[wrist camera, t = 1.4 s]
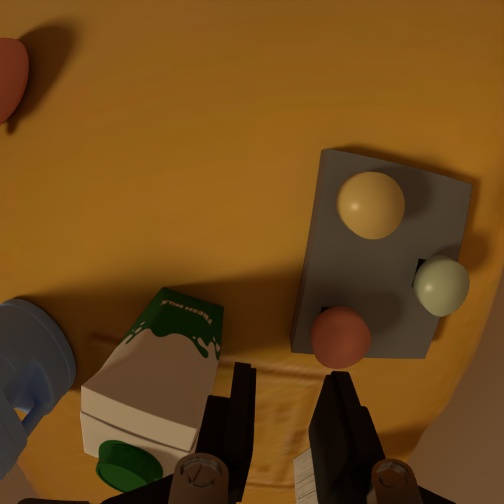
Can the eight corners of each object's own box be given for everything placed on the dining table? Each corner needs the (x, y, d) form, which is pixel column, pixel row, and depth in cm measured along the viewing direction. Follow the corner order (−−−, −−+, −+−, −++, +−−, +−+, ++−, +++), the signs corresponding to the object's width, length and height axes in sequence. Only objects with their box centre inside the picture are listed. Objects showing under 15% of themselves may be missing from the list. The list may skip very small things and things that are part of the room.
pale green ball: (409, 244, 29) (433, 259, 24) (449, 251, 29) (475, 265, 24) (397, 293, 30) (417, 314, 25) (437, 297, 30) (459, 317, 25)
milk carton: (143, 343, 35) (67, 470, 16) (156, 275, 33) (55, 393, 14) (213, 366, 36) (179, 513, 17) (235, 301, 33) (206, 451, 14)
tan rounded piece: (333, 165, 27) (348, 166, 22) (386, 176, 27) (409, 179, 22) (325, 222, 29) (337, 234, 24) (377, 230, 29) (397, 243, 24)
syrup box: (345, 451, 40) (362, 528, 26) (317, 470, 41) (327, 544, 27) (319, 440, 39) (332, 523, 25) (291, 459, 40) (296, 539, 26)
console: (321, 150, 29) (327, 148, 26) (457, 182, 29) (472, 184, 26) (289, 337, 34) (291, 352, 32) (415, 345, 34) (424, 358, 32)
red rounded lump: (312, 292, 30) (320, 315, 26) (362, 297, 30) (377, 320, 26) (302, 338, 32) (307, 366, 27) (349, 342, 32) (361, 369, 27)
